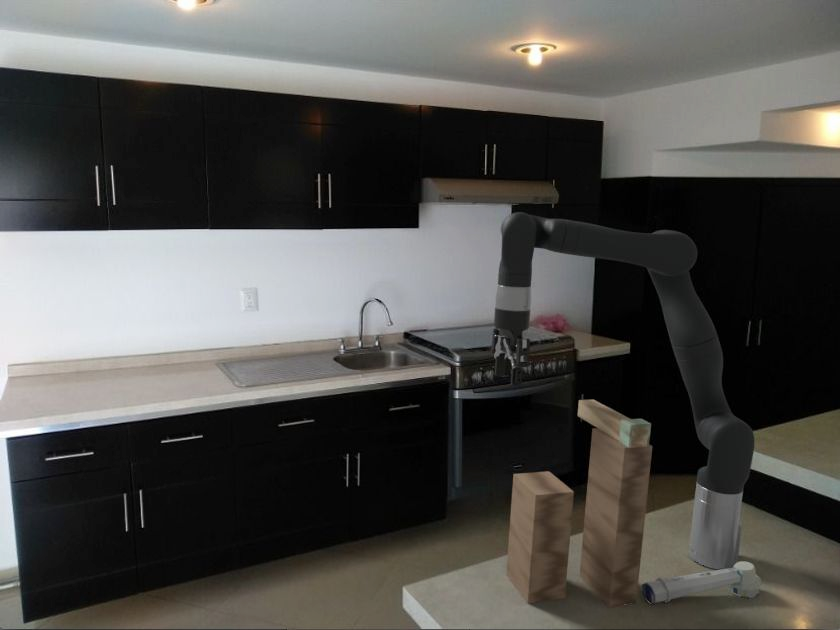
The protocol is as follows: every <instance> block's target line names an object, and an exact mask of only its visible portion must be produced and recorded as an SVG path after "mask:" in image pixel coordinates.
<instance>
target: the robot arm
mask: <svg viewBox="0 0 840 630" xmlns="http://www.w3.org/2000/svg"><path fill="white" fill-rule="evenodd" d="M500 233H501V252H500V253H501V254H500V255H501V256H500V257H501V259H500V261H499V265H498V274H497V276H498V278H497V287H496V292H495V293H496V294H495V303H494V304H495V305H494V317H493V318H494V320H493V327H494V328H493V329H492V339H491V351H490V353H491V355H494V356H493V357H494V359H495V365H494V366H495V367H494V375H495V376H496V377H503V376H505V374H506V365H507V360H506V358H507V359H509V360H510V363H511V374H510V375H511V376H510V385H511V386H513V387H518V386H519V387H520V386H521V385H522V384H523V382H522V381H523V371H524V370H523V369H525V368H529V367H530V350H531V348H530V345H531V340H530V338H523V333H524V331H528V330H529V329H530V321H531V319H530V318H531V305H532V278H533V277H532V276H533V275H532V274H533V257H534V251H535V249H543V250H546V251H550V252H553V253H557V254H565V255H570V256H578V257H585V258H595V259H603V260H611V261H617V262H623V263H627V264H632V265H637V266H640V267H643V268H645V269H647V272H648V274H649V276H650V278H651V281H652V284H653V285H654V287H655V290H656V292H657V295H658V298H659V302H660V305H661V308H662V313H663V318H664V322H665V325H666V329H667V332H668V333H667V334H668V336H669V341H670V343H671V348H672V350H673V354H674V357H675V359H676V362H677V365H678V369H679V371H680V375H681V377H682V380H683V383H684V385H685V388H686V391H687V393H688V396H689V400H690V405H691V410H692V416H693V420H694V425H695V430H696V431H695V432H696V434H697V437H698V440H699V441H700V443H701V444H702V446H704V447H705V448H706V449H707V450H709V452H708V458H707V465H706V466H703V467H700V468H699V469H698V471H697V476H696V484H695V485H696V486H695V487H696V488H695V493H694V501H693V509H692V510H693V511H692V518H691V519H692V520H691V527H690V528H691V529H690V536H689V538H690V539H689V545H688V546H689V547H688V553H689V554H688V556H689V557H690V559H691V560H692V561H694V562H695V561H696V562H695V563H697V562H698V563H697V564H699V565H701V566H703V565H704V567H707V568H709V569H715V570H721V569H727V568H733V566H734V565H735V564H736V563H737V562H739V561H738V560H739V552H740V546H741V540H742V539H741V538H742V537H741V536H742V529H743V523H742V521H740V516H741V510H742V509H741V507H742V500H743V494H744V488H745V487H744V486H745V484H746V483H747V481H748V479H749V477H750V472H751V469H752V463H753V457H754V452H755V435H754V431H753V429H752V428H751V426H750V425H748V423H746V422H745V421H744V420H742V419H740V418H738V417H737V416H736V415H734V414H733V412H732V411H731V408H730V406H729V403H728V401H727V399H726V396H725V392H724V390H723V384H722V379H723V377H722V375H723V370H724V369H723V368H724V356H723V350H722V345H721V343H720V340H719V337H718V333H717V330H716V328H715V325H714V323H713V321H712V319H711V316H710V315H709V313H708V311H707V309H706V308H705V305H704V304H703V302H702V301H701V299H700V297H699V296H698V294H697V292H696V290H695V288H694V285H693V282H692V279H691V274H690V270H691V269H692V268H693V267H694V265H695V263H696V261H697V258H698V248H697V246H696V244H695V242H694V241H693V240H692V238H691V237H689V236H688V235H687V234H686V233H683V232H680V231H677V230H669V229H661V230H656V231H654V232H652V233H650V232H649V233H644V232H633V231H627V230H621V229H615V228H611V227H606V226H602V225H598V224H593V223H588V222H585V221H584V222H583V221H576V220H571V219H565V218H546V217H544V216H543V217H541V216H537V215H534V214H533V215H532V214H528V213H526V212H522V211H521V212H520V211H519V212H517V211H516V212H513V213H511V214H509V215H507V216H506V217H505V218H504V219H503V221H502V223H501V226H500Z"/></svg>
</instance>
